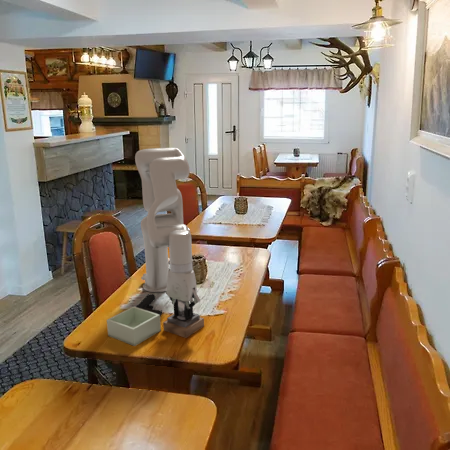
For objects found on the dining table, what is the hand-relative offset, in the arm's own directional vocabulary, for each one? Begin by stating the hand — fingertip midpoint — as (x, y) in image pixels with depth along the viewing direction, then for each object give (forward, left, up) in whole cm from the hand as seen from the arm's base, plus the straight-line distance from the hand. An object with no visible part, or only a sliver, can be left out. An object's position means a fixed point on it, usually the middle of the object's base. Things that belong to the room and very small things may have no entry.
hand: (183, 315), depth 162 cm
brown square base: (0, 0, -5) cm, 5 cm away
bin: (-12, -12, -5) cm, 18 cm away
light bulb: (0, 0, -2) cm, 2 cm away
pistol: (-20, +5, -6) cm, 22 cm away
